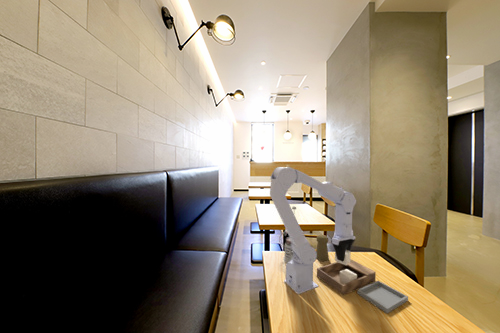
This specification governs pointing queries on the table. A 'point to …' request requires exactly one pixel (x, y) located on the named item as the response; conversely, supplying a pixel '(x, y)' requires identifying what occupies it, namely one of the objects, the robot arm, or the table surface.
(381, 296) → the slate dish
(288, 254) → the french press
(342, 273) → the cube
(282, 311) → the table surface
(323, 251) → the cork
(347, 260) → the cube
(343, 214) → the robot arm
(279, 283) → the table surface
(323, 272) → the walnut box
